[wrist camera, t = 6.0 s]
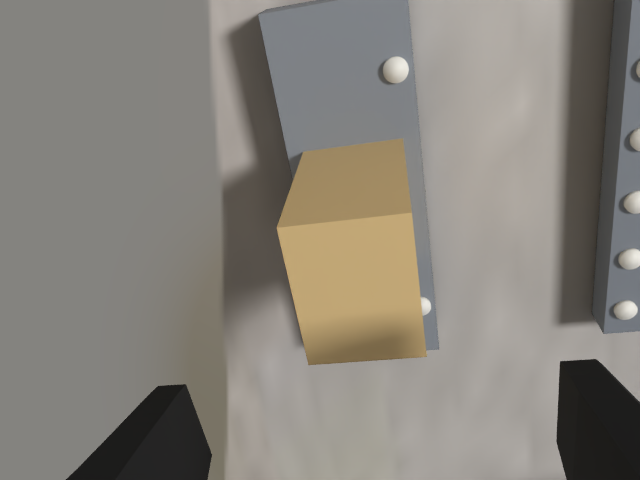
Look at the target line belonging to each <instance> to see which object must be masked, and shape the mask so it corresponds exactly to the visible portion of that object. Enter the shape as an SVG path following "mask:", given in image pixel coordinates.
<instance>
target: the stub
mask: <svg viewBox="0 0 640 480" xmlns="http://www.w3.org/2000/svg"><path fill="white" fill-rule="evenodd" d="M258 16H259V21H260V26H261V31H262V36H263V40H264V45H265V50H266V55H267V59H268V64H269V69H270V74H271V79H272V83H273V88H274V93H275V98H276V103H277V107H278V112H279V117H280V122H281V127H282V131H283V136H284V141H285V146H286V151H287V155H288V160H289V165H290V170H291V175H292V179H293V182H292V185H291V188H290V191H289V194H288V197H287V200H286V202H285V205H284V208H283V211H282V214H281V217H280V220H279V222H278V225H277V232H278V236H279V240H280V245H281V249H282V253H283V258H284V262H285V266H286V270H287V275H288V279H289V283H290V288H291V292H292V296H293V300H294V305H295V309H296V313H297V318H298V322H299V326H300V330H301V335H302V339H303V343H304V348H305V352H306V356H307V360H308V365H316V364H331V363H345V362H359V361H374V360H388V359H402V358H417V357H427V354H426V350H437V349H439V342H438V331H437V319H436V308H435V297H434V286H433V275H432V263H431V252H430V241H429V230H428V219H427V207H426V196H425V185H424V174H423V163H422V151H421V140H420V129H419V118H418V107H417V95H416V84H415V73H414V62H413V51H412V39H411V28H410V17H409V6H408V0H316V1H310V2H305V3H299V4H294V5H288V6H282V7H277V8H271V9H266V10H264V11H263V12H261V13H260V14H258Z"/></svg>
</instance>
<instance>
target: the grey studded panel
mask: <svg viewBox="0 0 640 480" xmlns="http://www.w3.org/2000/svg"><path fill="white" fill-rule="evenodd" d="M592 314H593V316H594V318H595V319H596V321H597V323H598V325H599V327H600V328H601V330H602V332H603V334H607V333H621V332H635V331H640V0H614V13H613V27H612V40H611V54H610V68H609V82H608V96H607V110H606V124H605V138H604V152H603V166H602V180H601V193H600V207H599V221H598V235H597V249H596V263H595V277H594V291H593V305H592Z"/></svg>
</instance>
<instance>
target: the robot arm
mask: <svg viewBox="0 0 640 480" xmlns="http://www.w3.org/2000/svg"><path fill="white" fill-rule="evenodd" d="M557 445H558V449H559V453H560V456H561V460H562V464H563V468H564V471H565V475H566V478H567V480H640V402H639V401H638V400H637V399H636V398H635V397H634V396H633V395H632V394H631V393H630V392H629V391H628V390H627V389H626V388H625V387H624V386H623V385H622V384H621V383H620V382H619V381H618V380H617V379H616V378H615V377H614V376H613V375H612V374H611V373H610V372H609V371H608V370H607V369H606V368H605V367H604V366H603V365H602V364H601V363H600V362H599V361H598V360H596V359H591V360H575V361H560V376H559V398H558V420H557ZM211 457H212V454H211V451H210V448H209V446H208V443H207V440H206V438H205V435H204V432H203V429H202V427H201V424H200V421H199V419H198V416H197V413H196V410H195V408H194V405H193V402H192V400H191V397H190V394H189V391H188V389H187V386H186V385H185V384H184V385H167V386H158V387H157V388H155V390H153V391H152V392H151V393H150V394H149V395H148V396H147V398H145V399H144V401H142V403H140V405H139V406H138V407H137V408H136V409H135V410H134V411H133V412H132V413H131V414H130V415H129V416H128V417H127V418H126V419H125V420H124V421H123V422H122V423H121V424H120V425H119V427H118V428H117V429H116V430H115V431H114V432H113V433H112V434H111V435H110V436H109V437H108V438H107V439H106V440H105V441H104V442H103V443H102V444H101V445H100V446H99V447H98V448H97V449H96V450H95V451H94V452H93V453H92V454H91V455H90V456H89V457H88V458H87V460H86V461H84V463H83V464H82V465H81V466H80V467H79V468H78V469H77V470H76V471H75V472H74V473H73V474H71V475H70V476H69V477H68V478H67V479H66V480H207V479H208V473H209V468H210V462H211Z"/></svg>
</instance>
